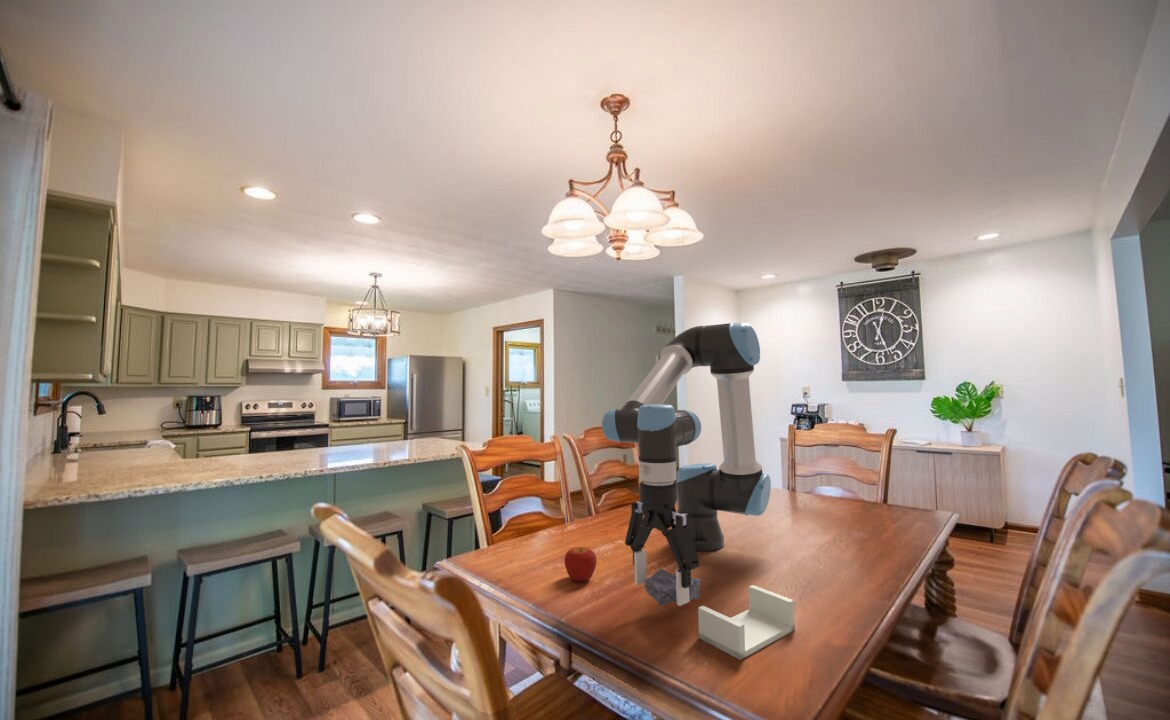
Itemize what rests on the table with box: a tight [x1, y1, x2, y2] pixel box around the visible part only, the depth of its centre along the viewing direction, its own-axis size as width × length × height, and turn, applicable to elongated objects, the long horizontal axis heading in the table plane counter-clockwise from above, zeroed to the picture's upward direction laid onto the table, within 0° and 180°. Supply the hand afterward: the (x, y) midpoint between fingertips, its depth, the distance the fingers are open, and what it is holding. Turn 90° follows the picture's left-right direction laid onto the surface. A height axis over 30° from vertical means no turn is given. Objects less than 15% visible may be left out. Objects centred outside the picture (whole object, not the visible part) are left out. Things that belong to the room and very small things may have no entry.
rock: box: [644, 568, 702, 606], centre depth 97 cm, size 12×5×10 cm
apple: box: [564, 546, 598, 583], centre depth 116 cm, size 8×8×8 cm
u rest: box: [697, 584, 796, 661], centre depth 90 cm, size 9×17×6 cm, turn 126°
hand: (661, 592), depth 95 cm, fingers closed on rock, 11 cm apart
